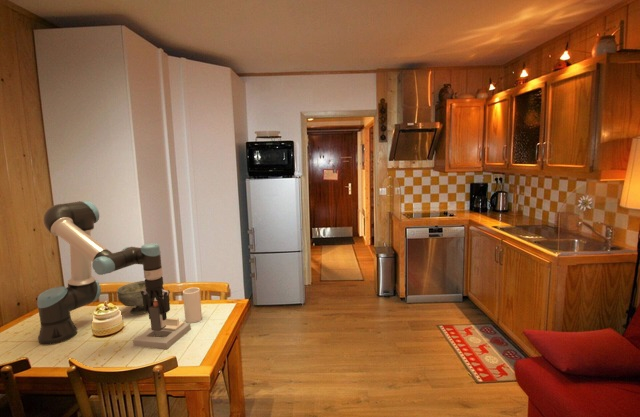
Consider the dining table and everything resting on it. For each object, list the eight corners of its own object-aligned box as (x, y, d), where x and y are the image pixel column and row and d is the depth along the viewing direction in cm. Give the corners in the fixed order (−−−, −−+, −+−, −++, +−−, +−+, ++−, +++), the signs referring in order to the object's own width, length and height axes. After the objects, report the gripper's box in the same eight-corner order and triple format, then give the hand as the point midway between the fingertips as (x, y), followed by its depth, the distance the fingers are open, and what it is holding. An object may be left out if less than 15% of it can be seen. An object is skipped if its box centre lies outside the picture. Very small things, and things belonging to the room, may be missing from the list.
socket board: (133, 346, 160) (132, 340, 160) (160, 326, 178) (159, 321, 178) (166, 349, 157) (166, 343, 156) (190, 329, 175) (190, 323, 174)
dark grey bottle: (151, 330, 162) (148, 303, 161) (157, 325, 167) (155, 299, 165) (160, 330, 162) (157, 303, 160) (166, 326, 166) (163, 300, 164)
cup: (196, 323, 181) (194, 293, 178) (182, 322, 182) (179, 292, 180) (204, 316, 189) (202, 287, 186) (191, 315, 190) (188, 287, 188)
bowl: (134, 303, 209) (131, 279, 207) (165, 304, 206) (162, 279, 204) (110, 318, 190) (107, 291, 188) (143, 319, 187) (140, 292, 185)
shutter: (153, 328, 169) (152, 321, 169) (163, 321, 177) (162, 314, 176) (175, 330, 167) (174, 322, 166) (184, 323, 174) (183, 315, 174)
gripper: (131, 279, 159) (136, 328, 162) (165, 281, 155) (170, 331, 159) (142, 274, 166) (147, 321, 170) (175, 275, 163) (180, 323, 166)
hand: (158, 325), depth 164 cm, fingers closed on dark grey bottle, 4 cm apart
